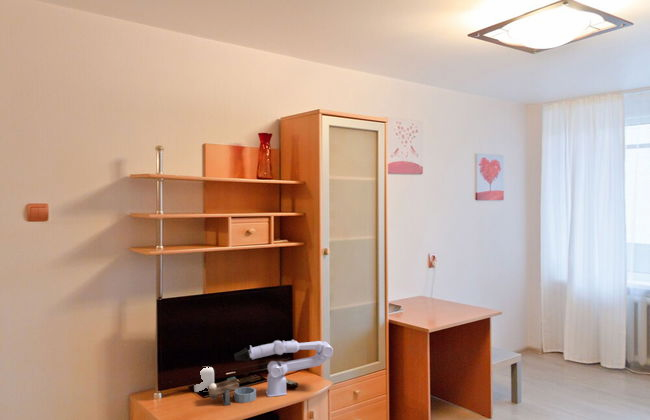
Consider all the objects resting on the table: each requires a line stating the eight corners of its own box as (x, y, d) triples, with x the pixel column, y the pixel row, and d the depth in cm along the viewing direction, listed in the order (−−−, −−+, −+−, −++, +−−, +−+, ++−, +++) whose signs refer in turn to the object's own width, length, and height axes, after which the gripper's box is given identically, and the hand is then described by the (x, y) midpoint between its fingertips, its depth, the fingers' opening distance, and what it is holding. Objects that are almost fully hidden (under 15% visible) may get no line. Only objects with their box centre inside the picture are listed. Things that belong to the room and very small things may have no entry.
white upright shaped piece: (194, 393, 263) (194, 369, 263) (194, 390, 267) (194, 366, 267) (214, 391, 265) (214, 367, 265) (214, 388, 269) (214, 365, 269)
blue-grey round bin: (253, 393, 262) (253, 385, 262) (257, 401, 252) (257, 393, 252) (233, 396, 258) (233, 388, 258) (236, 403, 248) (236, 395, 248)
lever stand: (227, 396, 258) (227, 381, 258) (230, 405, 247) (230, 389, 247) (221, 397, 257) (221, 382, 257) (224, 405, 246) (224, 390, 246)
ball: (217, 385, 252) (212, 380, 252) (218, 388, 249) (213, 383, 248) (212, 390, 251) (207, 385, 251) (212, 393, 248) (207, 388, 247)
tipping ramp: (235, 382, 264) (234, 373, 264) (240, 392, 250) (238, 383, 250) (207, 390, 260) (206, 381, 260) (210, 400, 246) (208, 391, 245)
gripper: (258, 341, 267) (232, 347, 264) (261, 345, 253) (233, 351, 250) (260, 355, 267) (235, 361, 263) (263, 359, 253) (236, 365, 249)
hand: (234, 357), depth 257 cm, fingers open, 7 cm apart
